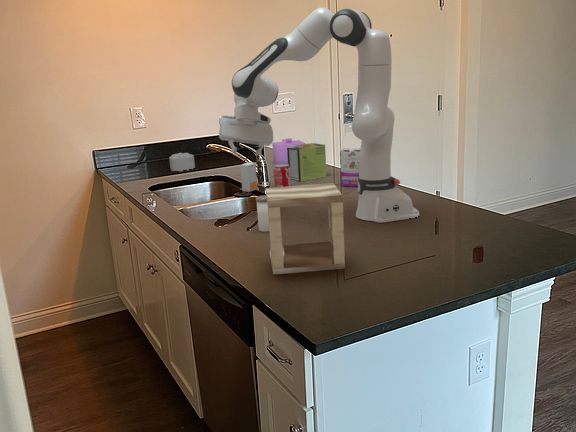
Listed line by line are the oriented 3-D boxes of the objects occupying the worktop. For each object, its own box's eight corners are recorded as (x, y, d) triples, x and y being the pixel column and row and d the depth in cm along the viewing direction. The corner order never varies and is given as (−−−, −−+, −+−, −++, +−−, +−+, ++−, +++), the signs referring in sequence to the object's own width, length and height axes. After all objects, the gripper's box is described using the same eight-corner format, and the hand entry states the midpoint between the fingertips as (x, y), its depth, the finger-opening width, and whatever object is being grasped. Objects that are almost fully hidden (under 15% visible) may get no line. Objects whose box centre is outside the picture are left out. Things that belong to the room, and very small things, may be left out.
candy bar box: (368, 185, 258) (367, 148, 254) (365, 187, 254) (364, 150, 250) (344, 184, 263) (342, 147, 258) (340, 186, 258) (339, 149, 254)
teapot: (296, 159, 330) (295, 134, 327) (309, 166, 307) (308, 140, 303) (270, 161, 327) (269, 136, 323) (281, 169, 304) (279, 142, 300)
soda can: (290, 197, 245) (288, 166, 242) (273, 197, 247) (271, 166, 243) (293, 193, 252) (291, 163, 249) (277, 193, 254) (275, 163, 250)
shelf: (269, 254, 178) (265, 186, 172) (335, 248, 179) (332, 181, 173) (273, 274, 161) (268, 200, 156) (344, 268, 163) (342, 195, 157)
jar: (272, 226, 205) (270, 194, 202) (273, 231, 200) (271, 198, 197) (257, 227, 205) (255, 196, 202) (258, 232, 200) (256, 199, 197)
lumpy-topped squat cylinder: (169, 169, 323) (168, 153, 320) (193, 166, 327) (191, 150, 325) (172, 172, 313) (171, 156, 311) (196, 169, 317) (195, 153, 315)
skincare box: (249, 192, 258) (247, 165, 255) (242, 191, 261) (239, 164, 257) (257, 189, 263) (255, 162, 260) (250, 188, 266) (248, 162, 262)
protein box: (327, 176, 280) (325, 144, 276) (300, 182, 272) (299, 149, 268) (314, 173, 289) (312, 142, 284) (288, 179, 280) (286, 146, 276)
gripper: (221, 111, 211) (221, 147, 207) (274, 118, 219) (275, 153, 215) (216, 117, 216) (216, 153, 213) (268, 125, 224) (269, 159, 221)
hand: (246, 153), depth 214 cm, fingers open, 8 cm apart
